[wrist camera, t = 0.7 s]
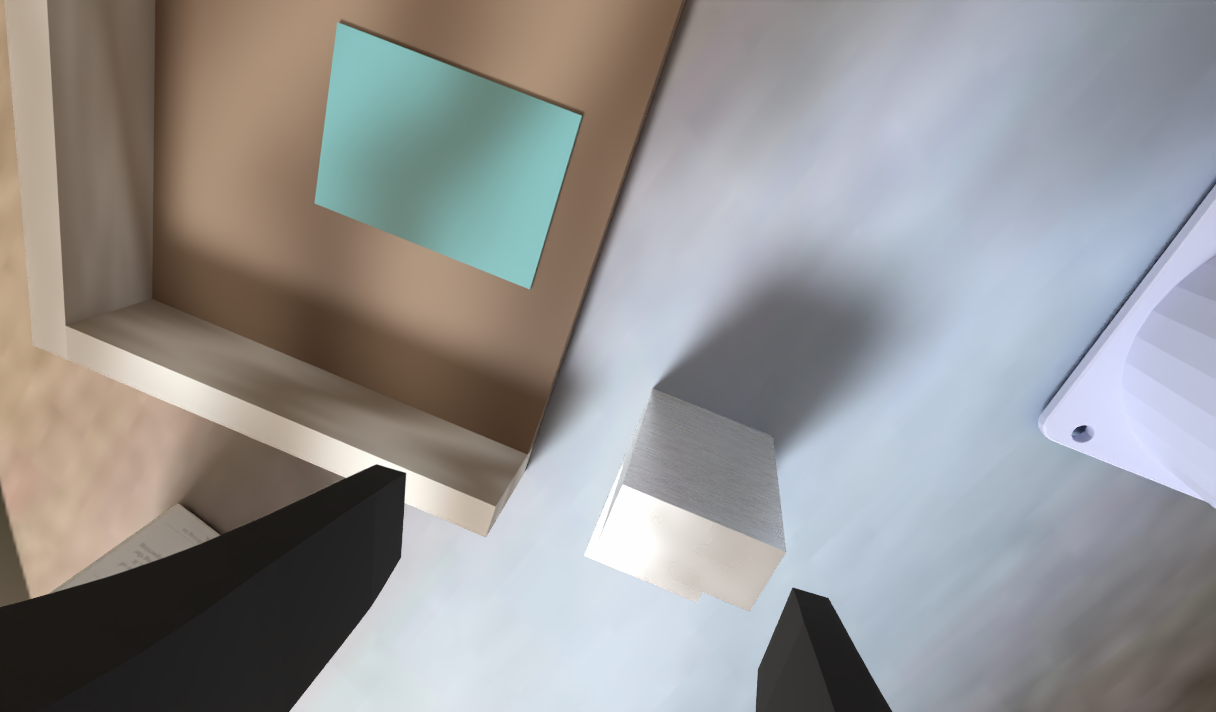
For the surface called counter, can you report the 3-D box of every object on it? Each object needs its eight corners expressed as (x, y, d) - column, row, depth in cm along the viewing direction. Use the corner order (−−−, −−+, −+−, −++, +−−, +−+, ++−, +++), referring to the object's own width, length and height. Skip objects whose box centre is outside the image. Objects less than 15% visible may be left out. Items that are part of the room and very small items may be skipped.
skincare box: (147, 550, 26) (-277, 862, 15) (184, 493, 25) (-267, 799, 14) (259, 636, 27) (-71, 994, 16) (302, 586, 25) (-35, 951, 14)
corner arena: (689, -9, 15) (675, -44, 11) (523, 473, 21) (485, 537, 18) (136, -211, 15) (-22, -299, 12) (137, 311, 22) (33, 345, 18)
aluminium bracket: (772, 434, 19) (786, 551, 14) (699, 570, 21) (687, 712, 16) (653, 386, 19) (622, 484, 14) (594, 527, 21) (550, 653, 16)
